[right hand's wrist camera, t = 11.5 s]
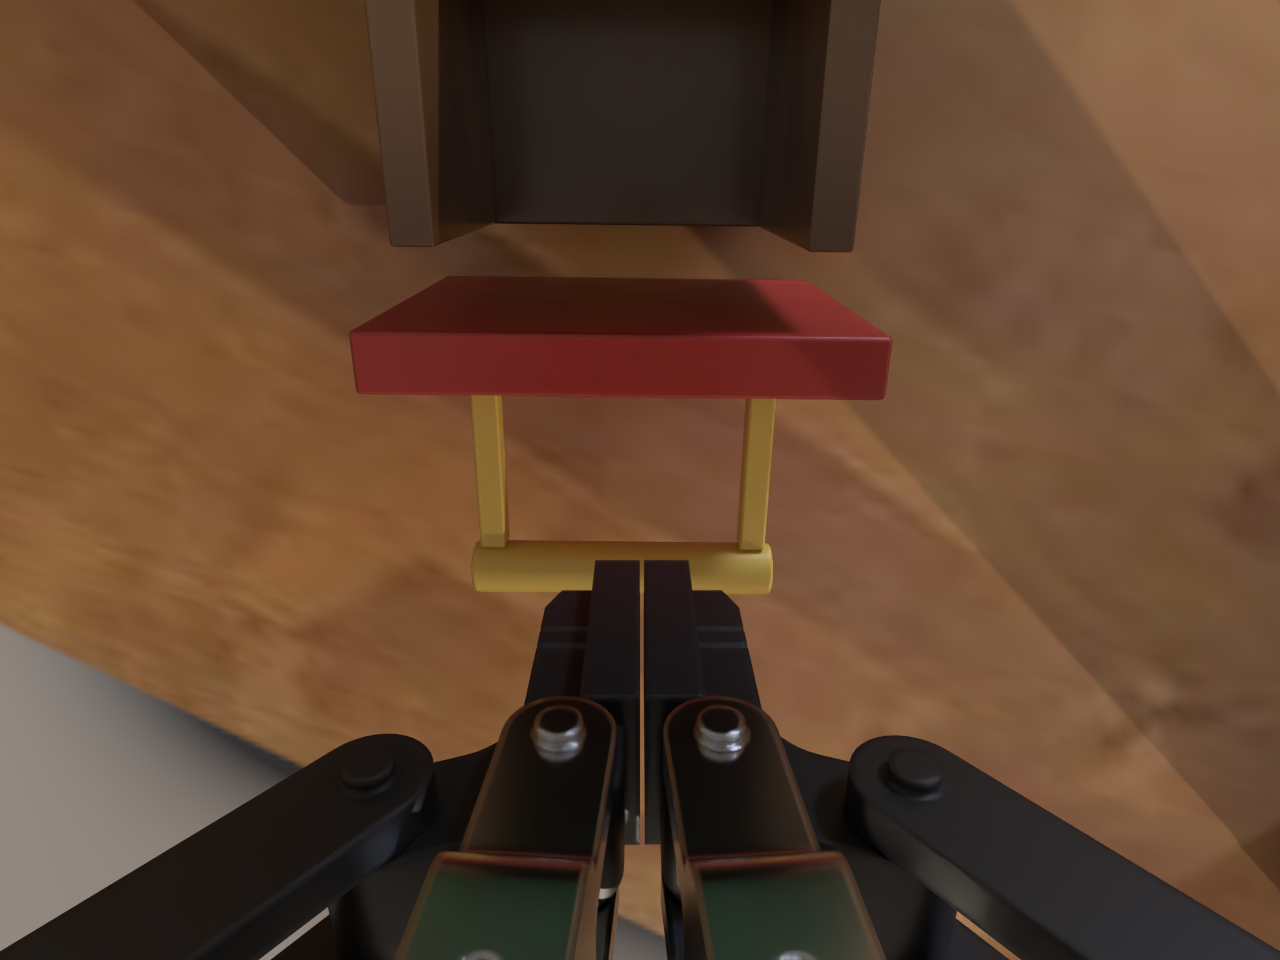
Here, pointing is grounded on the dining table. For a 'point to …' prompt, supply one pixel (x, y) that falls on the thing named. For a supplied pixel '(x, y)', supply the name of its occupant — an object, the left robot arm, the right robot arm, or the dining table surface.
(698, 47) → the drawer
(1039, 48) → the dining table surface
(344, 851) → the right robot arm
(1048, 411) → the dining table surface
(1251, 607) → the dining table surface
